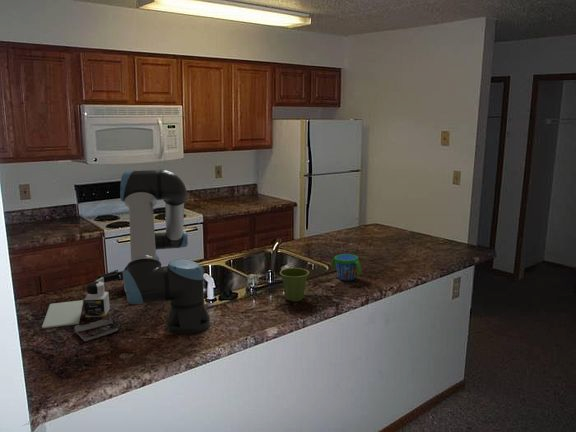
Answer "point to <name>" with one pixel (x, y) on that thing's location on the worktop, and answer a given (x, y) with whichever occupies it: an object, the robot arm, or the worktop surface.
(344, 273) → the snack cup
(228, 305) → the worktop surface
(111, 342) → the worktop surface
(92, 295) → the medicine bottle
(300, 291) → the plant pot
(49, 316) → the rubber mat
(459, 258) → the worktop surface
